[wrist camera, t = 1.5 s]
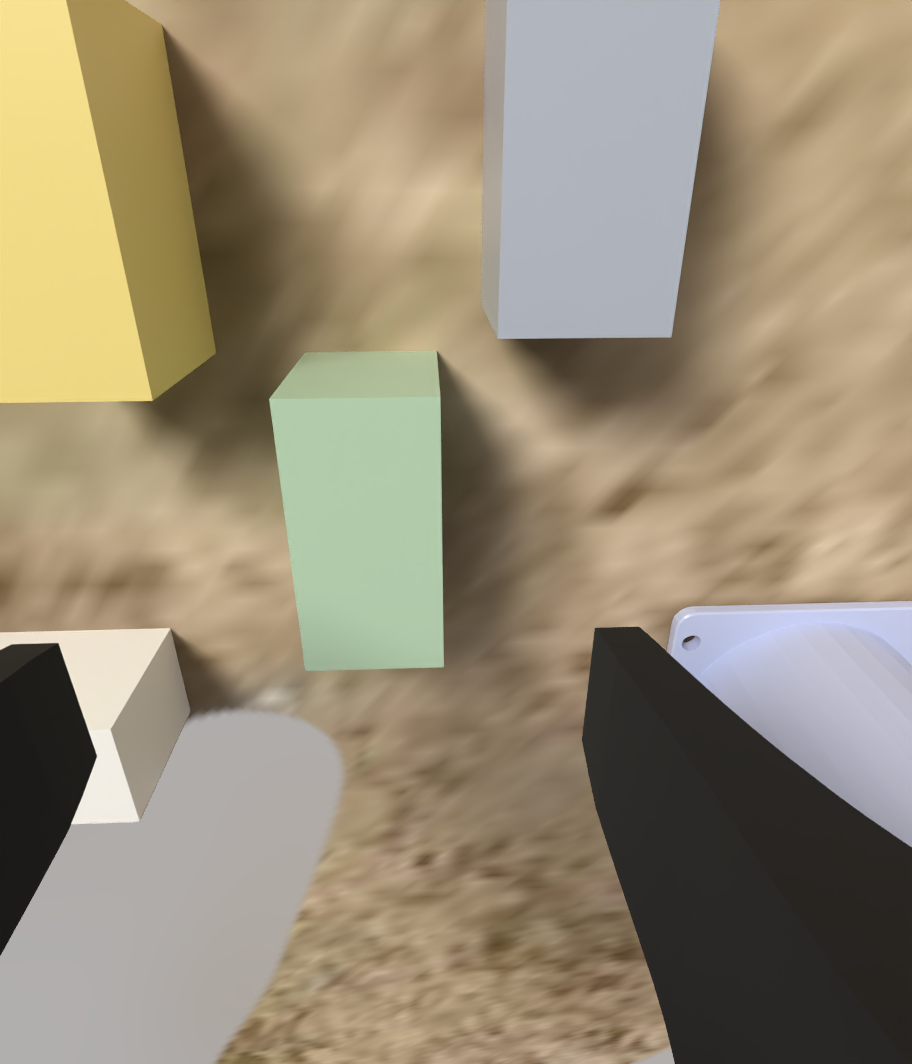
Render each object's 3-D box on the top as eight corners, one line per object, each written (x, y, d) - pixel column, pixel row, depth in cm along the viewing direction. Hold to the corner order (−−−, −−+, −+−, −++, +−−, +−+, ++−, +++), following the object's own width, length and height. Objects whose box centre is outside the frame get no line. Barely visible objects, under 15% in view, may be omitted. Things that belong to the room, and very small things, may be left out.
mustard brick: (217, 352, 15) (152, 400, 11) (83, 353, 15) (-25, 403, 11) (163, 25, 12) (56, -45, 9) (-1, 25, 12) (-178, -47, 9)
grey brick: (612, 303, 15) (671, 336, 11) (480, 304, 15) (497, 338, 11) (648, -38, 12) (740, -135, 9) (486, -40, 12) (511, -138, 8)
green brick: (439, 573, 18) (443, 667, 14) (329, 575, 18) (305, 670, 14) (436, 350, 15) (440, 396, 12) (305, 351, 15) (269, 399, 12)
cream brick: (171, 626, 18) (110, 729, 15) (191, 708, 20) (139, 821, 16) (-49, 631, 18) (-166, 737, 15) (-14, 714, 19) (-113, 830, 16)
